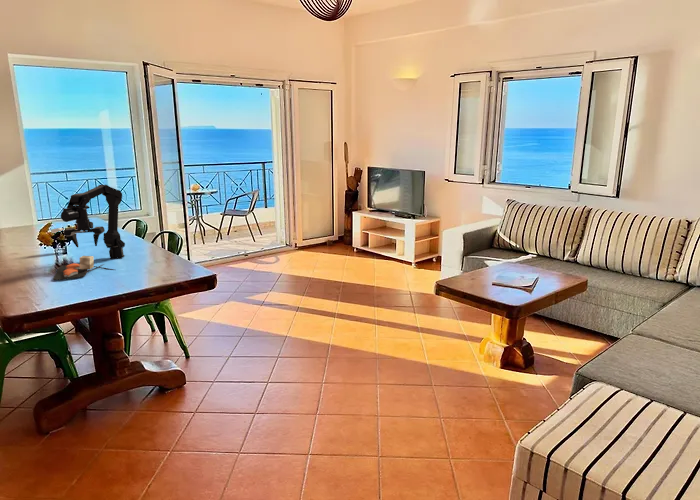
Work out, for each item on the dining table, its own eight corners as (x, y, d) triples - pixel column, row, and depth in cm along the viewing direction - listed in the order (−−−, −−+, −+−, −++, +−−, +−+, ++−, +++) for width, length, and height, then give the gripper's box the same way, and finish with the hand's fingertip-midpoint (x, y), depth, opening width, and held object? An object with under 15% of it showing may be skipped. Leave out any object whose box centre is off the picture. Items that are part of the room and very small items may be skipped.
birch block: (93, 267, 257) (93, 256, 256) (89, 269, 252) (89, 258, 251) (83, 266, 256) (83, 255, 255) (79, 268, 251) (79, 257, 250)
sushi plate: (60, 268, 262) (59, 262, 261) (121, 261, 273) (120, 255, 273) (52, 283, 236) (51, 276, 235) (119, 275, 248) (118, 268, 247)
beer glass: (62, 254, 289) (58, 230, 286) (52, 254, 291) (48, 230, 287) (71, 251, 296) (66, 228, 292) (61, 251, 297) (57, 227, 294)
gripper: (105, 214, 263) (110, 241, 267) (68, 216, 260) (73, 244, 264) (98, 218, 252) (103, 246, 256) (60, 220, 249) (66, 249, 253)
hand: (86, 246), depth 258 cm, fingers open, 9 cm apart
